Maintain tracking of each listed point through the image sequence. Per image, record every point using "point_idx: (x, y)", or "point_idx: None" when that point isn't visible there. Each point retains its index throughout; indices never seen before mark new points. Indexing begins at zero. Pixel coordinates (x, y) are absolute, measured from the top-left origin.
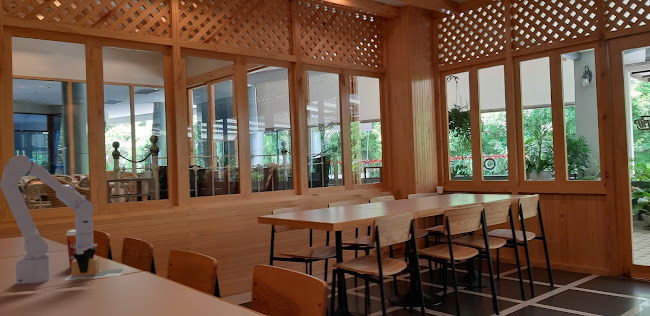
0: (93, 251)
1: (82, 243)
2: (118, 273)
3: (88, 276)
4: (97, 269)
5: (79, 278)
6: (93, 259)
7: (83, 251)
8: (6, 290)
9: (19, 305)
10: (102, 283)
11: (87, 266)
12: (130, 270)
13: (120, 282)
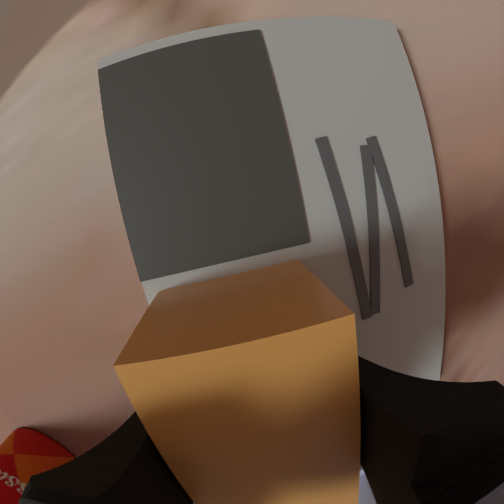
0: (116, 502)
1: None
2: (303, 40)
3: (384, 283)
4: (237, 283)
5: (429, 318)
6: (291, 376)
7: (486, 493)
8: None
9: None
10: (481, 119)
11: (362, 358)
12: (68, 58)
13: (456, 23)
